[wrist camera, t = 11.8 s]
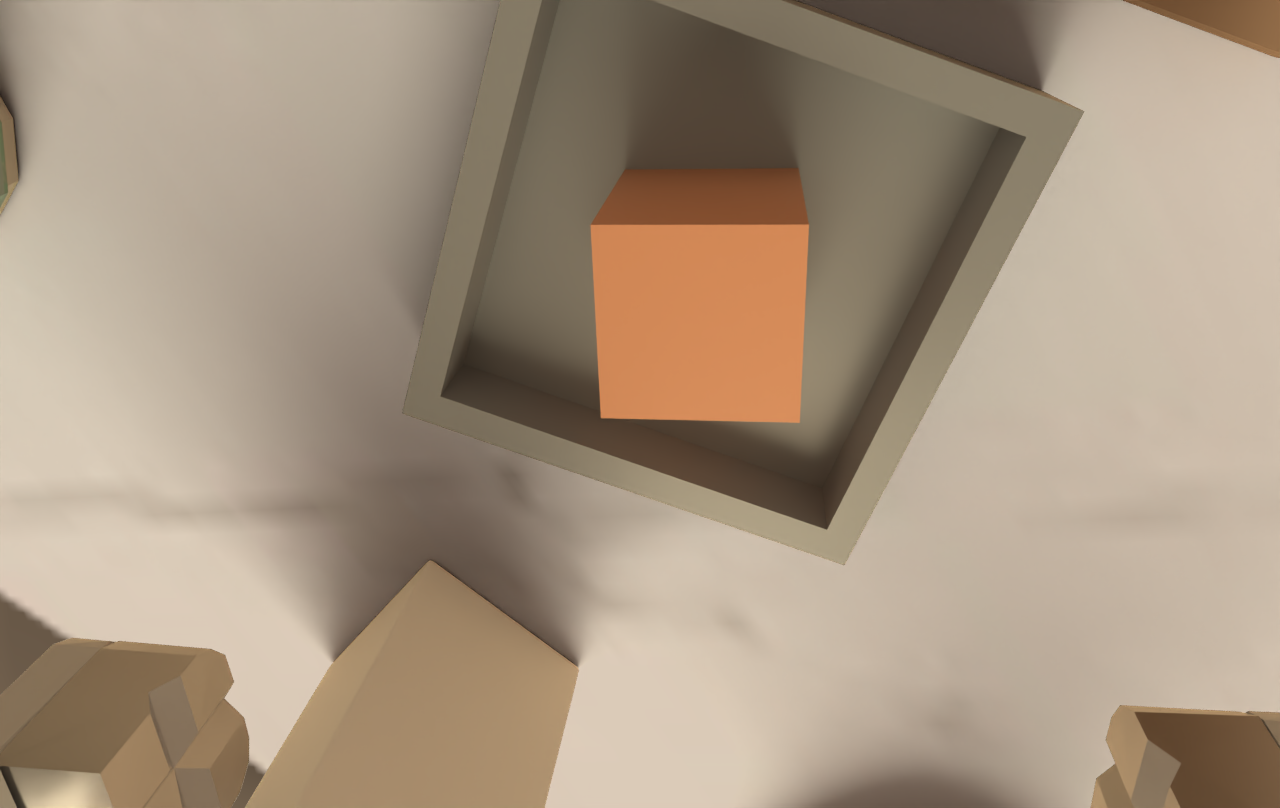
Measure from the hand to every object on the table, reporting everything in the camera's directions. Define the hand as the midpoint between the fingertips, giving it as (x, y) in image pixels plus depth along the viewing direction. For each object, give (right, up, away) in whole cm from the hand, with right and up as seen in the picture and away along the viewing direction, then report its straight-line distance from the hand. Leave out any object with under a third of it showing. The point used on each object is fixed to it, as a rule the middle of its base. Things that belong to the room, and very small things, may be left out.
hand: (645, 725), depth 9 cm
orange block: (+2, +7, +14) cm, 16 cm away
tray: (+2, +7, +15) cm, 17 cm away
